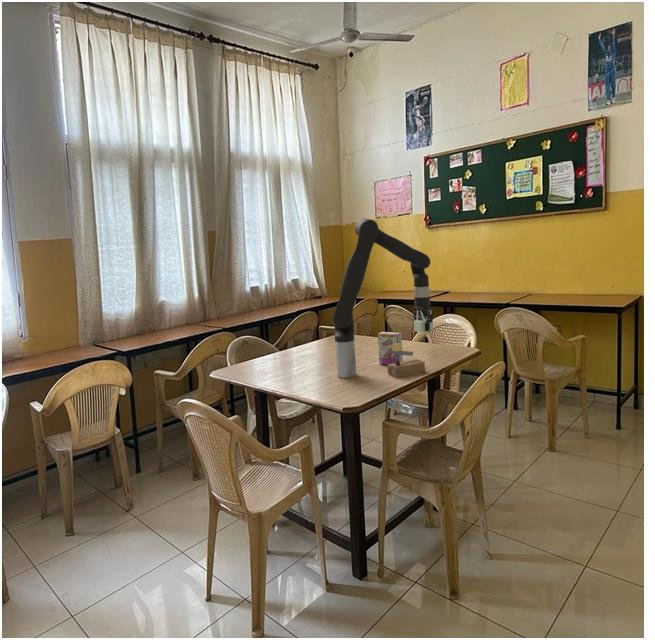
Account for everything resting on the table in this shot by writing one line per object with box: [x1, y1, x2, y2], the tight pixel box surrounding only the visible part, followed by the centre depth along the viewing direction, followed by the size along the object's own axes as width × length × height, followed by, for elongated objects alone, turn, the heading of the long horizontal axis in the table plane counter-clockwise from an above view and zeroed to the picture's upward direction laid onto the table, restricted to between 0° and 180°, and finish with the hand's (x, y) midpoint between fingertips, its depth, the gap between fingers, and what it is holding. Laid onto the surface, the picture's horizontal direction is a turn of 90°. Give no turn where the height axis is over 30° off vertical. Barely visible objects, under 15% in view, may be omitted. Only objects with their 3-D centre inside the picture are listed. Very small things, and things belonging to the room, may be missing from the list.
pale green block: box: [413, 318, 434, 334], centre depth 246 cm, size 6×7×5 cm
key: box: [390, 343, 414, 365], centre depth 234 cm, size 2×11×10 cm, turn 48°
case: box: [387, 358, 426, 379], centre depth 239 cm, size 7×16×5 cm, turn 114°
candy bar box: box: [377, 331, 404, 366], centre depth 256 cm, size 11×5×16 cm, turn 56°
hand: (423, 329), depth 246 cm, fingers closed on pale green block, 6 cm apart
